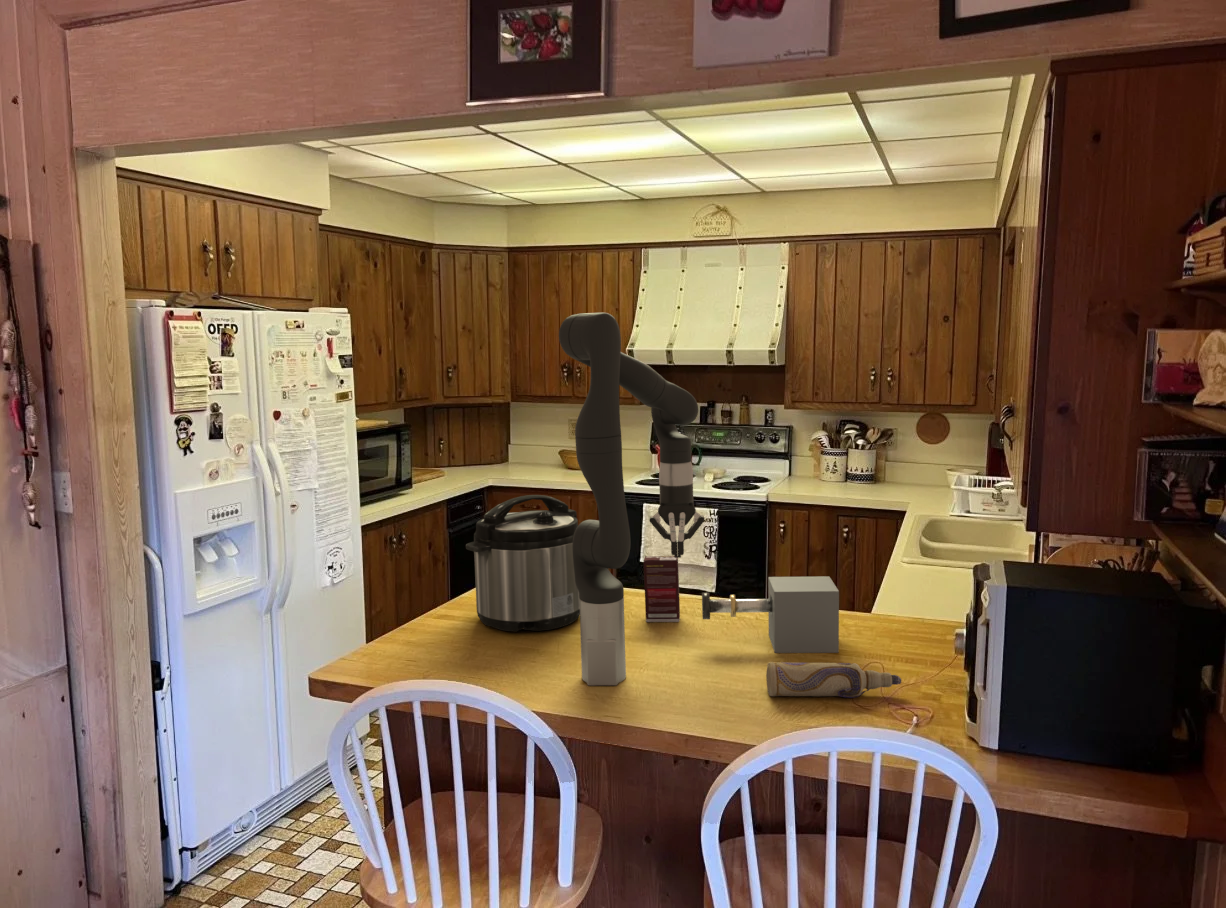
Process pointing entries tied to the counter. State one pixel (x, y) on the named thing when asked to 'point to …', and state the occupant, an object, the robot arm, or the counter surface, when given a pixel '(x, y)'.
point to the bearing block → (804, 614)
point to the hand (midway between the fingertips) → (677, 556)
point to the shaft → (733, 605)
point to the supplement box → (661, 589)
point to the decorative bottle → (824, 679)
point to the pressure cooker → (526, 566)
